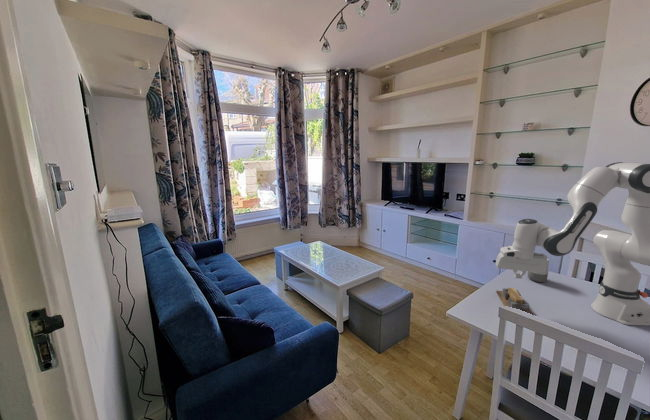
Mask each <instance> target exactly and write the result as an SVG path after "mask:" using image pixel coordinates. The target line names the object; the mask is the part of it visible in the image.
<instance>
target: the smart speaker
mask: <svg viewBox="0 0 650 420" xmlns="http://www.w3.org/2000/svg"><path fill="white" fill-rule="evenodd" d="M549 263H550V259H549V258H547V261H546V271H545V272H544V273H540V272H530V271H527V277H528V279H529V280H531V281H533V282H536V283H544V282H546V281H547V279H548V275H549V266H550V265H549Z"/></svg>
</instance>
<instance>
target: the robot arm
mask: <svg viewBox="0 0 650 420" xmlns="http://www.w3.org/2000/svg"><path fill="white" fill-rule="evenodd" d="M615 188H620V189H627V190H628V195H627V198H626V201H625V204H624V207H623V211H622V213H621V215H620V220H621V222H622V224H624V225H625V226H626V227H627V228H628V229H629V230H630V232H631V234H629V233H626V232H623V231H618V230H610V229H602V230H600V231H598V232H597V233H596V234H595V235H594V237H593V246H594V247H595V248H596V249H597V251H599V252H600V254H601V256H602V258H603V260H604V265H605V266H604V274H603V279H602V280H601V282H600V284H599V287H598V293H597V296H596V298H595V299H594V300H593V302H592V303H591V305H590V308H591V309H592V310H593V311H594V312H596V313H597V314H599V315H601V316H604V317H605V318H608V319H611V320H614V321H616V322H618V323H621V324H623V325H627V326H629V325H630V326H646V327H647V326H649V327H650V303H648V302H646V301H645V300H644V298H645V299H646V298H648V297H649V294H647V293H646V292H644V291H641V289H639V285H640V282H641V278H642V274H641V273H640V271H639V269H637V268H636V267H635V266H634V265H633V264H632V262H634V263H636V264H640V265H644V266H649V267H650V163H643V162H634V161H633V162H622V161H620V162H619V161H618V162H612V163H610V164H607V165H606V166H603V165H602V166H595V167H593V168H592V169H591V170H589V171H587V173H586V174H585V175H583V176H582V177H581V178H580V179H578V181H576V183H575V184H574V185H573V186H572V187H571V188H570V190H569V191H568V193H567V195H566V198H567V202H568V204H569V206H571V208H572V211H573V212H572V213H573V214H572V216H571V218H570V219H569V220H568V221H567V223H566V224H565V225H564V227H563V228H562V229H561V230H558V229H555V228H553V227H551V226H549V225H546V224H543V223H541V222H539V221H538V220H537V219H532V218H524V219H520V220H519V221H518V222H517V223H516V225H515V229H514V234H513V239H514V240H513V242H512V245H508V246H507V245H506V246H502V247H500V250H499V251H500V252H499V253H498V254H497V256H496V259H495V266H496V267H497V268H498V269H500V270H501V269H502V270H511V271H512V272H513V273H514V274H513V276H514V279H523V276H525V274H527V272H528V271H530V272H540V273H544V272H545V271H546V261H547V258H548V255H546V254H545V253H538V252H535V250H536V247H538V246H539V247H541V248H542V249H544V250H545V251H546V252H548V253H549V254H550V255H551V256H555V257H563V256H566V255H568V254H570V253H571V252H572V251H573V250H574V248H575V246H576V244H577V241H578V240H579V239H580V236H581V235H582V234H583V233H584V232H585V231H586V229H587V227H588V226H589V225H590V223H591V222H592V221H593V219H594V218H595V216H596V214H597V213H598V207H599V205H600V203H601V202H602V201H603V199H604V198H606V196H607V195H608V194H609V193H610V192H611V191H612V190H614V189H615ZM548 259H549V258H548ZM518 271H521V272H520V273H517V272H518Z"/></svg>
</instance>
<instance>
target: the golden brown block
mask: <svg viewBox="0 0 650 420" xmlns="http://www.w3.org/2000/svg"><path fill="white" fill-rule="evenodd" d="M507 289H508V298H511V299H512V300H513V302H515V303H523V298H522V296H520V295H521V294H520V295H519V294H518V292H519V291H518V292H517V291H516V290H517V289H516V288H514V287H507Z"/></svg>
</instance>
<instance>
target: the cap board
mask: <svg viewBox="0 0 650 420" xmlns="http://www.w3.org/2000/svg"><path fill="white" fill-rule="evenodd" d="M516 291H517V292H518V294H519V295H520V296H521V293H520V292H519V290H518V289H516ZM495 293H496V294H497V296H498V297H499V299H500V301H501V303H502V305H503V306H508V307H512V308H516V309H520V310H522V311H525V312H527V313H530V314H533V313H532V312H531V310H530V309H529V305H528V303H527V302H526V300H525V299H523V298H522V299H523V303H515V302H513V300H512V299H511V298H508V288H503V287H502V290H496V291H495ZM521 297H522V296H521Z"/></svg>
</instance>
